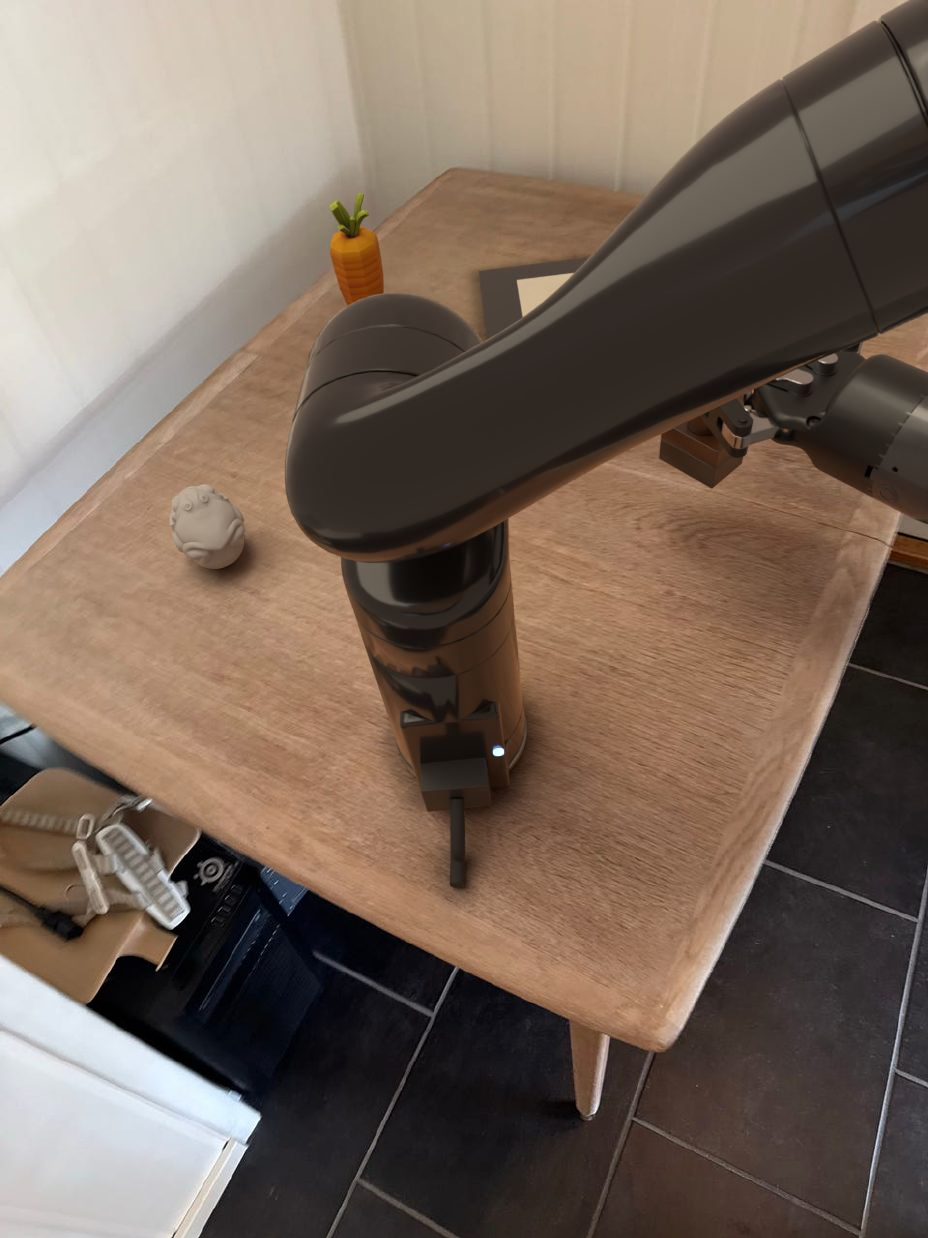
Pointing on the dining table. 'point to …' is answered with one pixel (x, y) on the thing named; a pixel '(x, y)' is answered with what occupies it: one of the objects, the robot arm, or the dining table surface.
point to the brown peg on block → (697, 453)
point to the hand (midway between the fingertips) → (681, 332)
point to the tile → (520, 290)
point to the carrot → (356, 254)
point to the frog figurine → (207, 527)
